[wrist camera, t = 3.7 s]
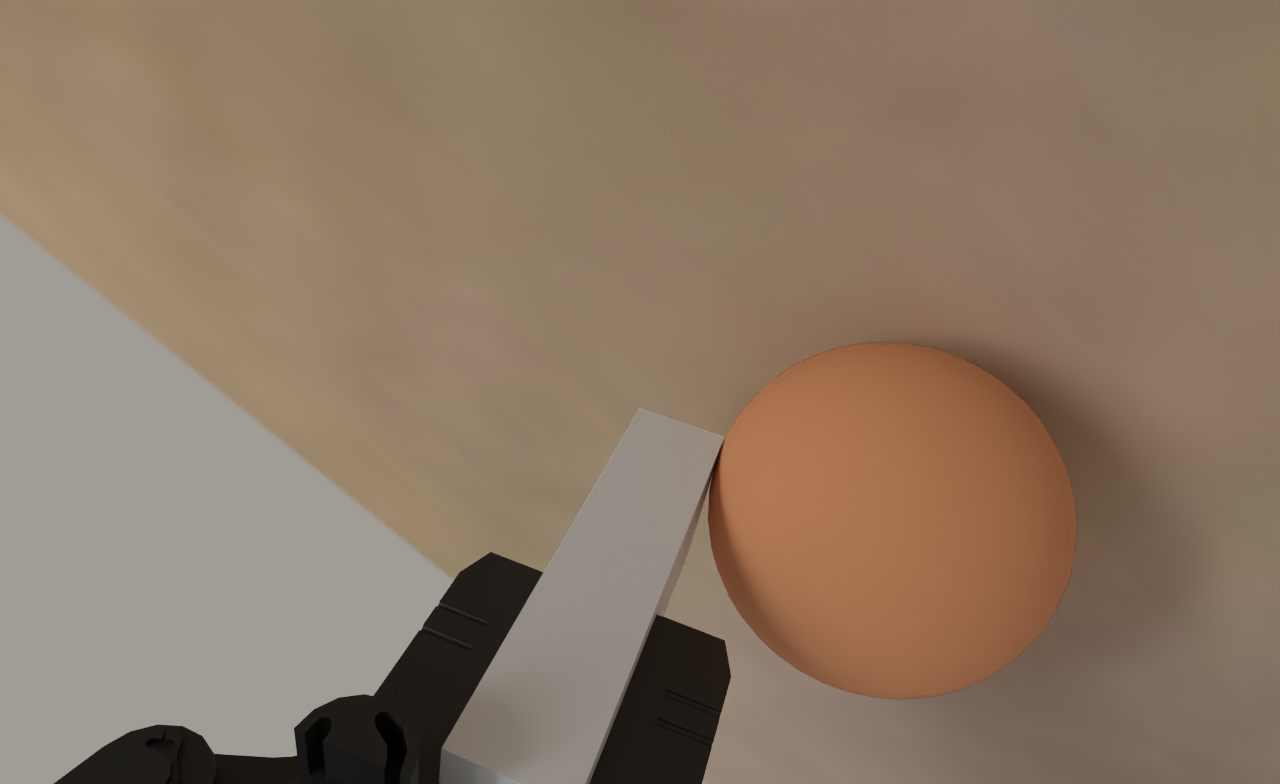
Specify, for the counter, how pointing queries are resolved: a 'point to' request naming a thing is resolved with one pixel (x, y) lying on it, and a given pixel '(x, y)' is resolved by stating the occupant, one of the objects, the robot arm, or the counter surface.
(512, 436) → the counter surface
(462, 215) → the counter surface
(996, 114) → the counter surface
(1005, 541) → the ball
